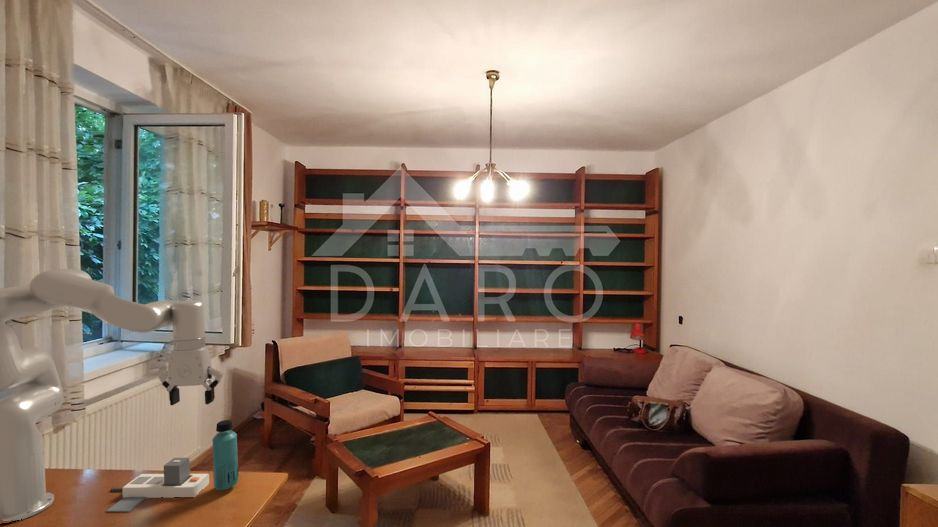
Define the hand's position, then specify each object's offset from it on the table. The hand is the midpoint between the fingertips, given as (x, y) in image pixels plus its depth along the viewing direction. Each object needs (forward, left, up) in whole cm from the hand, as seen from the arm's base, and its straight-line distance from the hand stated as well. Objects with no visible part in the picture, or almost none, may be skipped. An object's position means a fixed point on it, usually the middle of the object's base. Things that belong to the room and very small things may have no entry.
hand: (192, 403), depth 121 cm
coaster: (-9, -13, -26) cm, 30 cm away
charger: (-5, -2, -24) cm, 25 cm away
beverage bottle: (+7, +5, -26) cm, 28 cm away
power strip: (-10, -5, -26) cm, 28 cm away
